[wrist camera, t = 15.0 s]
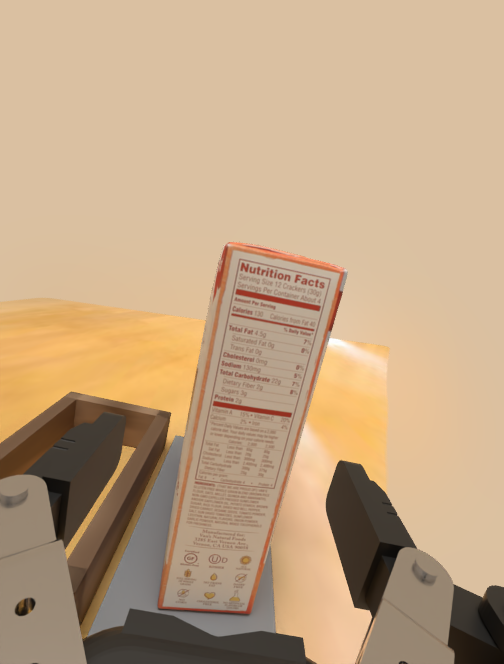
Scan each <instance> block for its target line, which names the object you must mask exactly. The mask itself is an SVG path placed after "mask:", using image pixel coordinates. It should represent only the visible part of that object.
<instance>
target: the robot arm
mask: <svg viewBox="0 0 504 664" xmlns="http://www.w3.org/2000/svg"><path fill="white" fill-rule="evenodd" d="M125 425H126V416H124V415H119V414H114V413H109V412H103V413H102V414H101V415H100V416H99V417H98V418H97V419H96V420H95V421H94V423H93V424H90V423H85V422H84V423H82V424H80V425H78V426H76V427H74V428H71V429H70V430H69V431H68V432H67V433H66V434H65V435H64V436H63V437H61V439H60V440H58V441H57V442H56V443H55V444H54V445H53V447H52V448H50V449H49V450H48V451H47V452H46V453H45V454H44V455H43V456H42V457H40V458H39V459H38V460H37V461H36V462H35V463H34V464H33V465H32V466H31V467H30V468H29V469H28V470H27V471H26V472H25V473H24V474H23V475H15V476H10V477H7V478H4V479H1V480H0V664H317V663H315V662H313V661H312V660H310V659H308V658H307V657H305V650H304V642H303V638H301V637H295V636H289V635H284V634H278V633H272V632H266V631H256V632H249V633H242V634H235V635H228V636H219V637H218V636H214V635H211V634H209V633H207V632H205V631H203V630H201V629H199V628H197V627H195V626H193V625H191V624H189V623H187V622H185V621H183V620H181V619H179V618H177V617H175V616H173V615H167V614H161V613H155V612H149V611H143V610H137V609H132V608H130V609H129V612H128V615H127V618H126V621H125V624H124V626H117V627H113V628H109V629H105V630H102V631H100V632H97V633H95V634H92V635H90V636H88V637H86V638H85V639H83V640H82V636H81V631H80V626H79V620H78V615H77V610H76V605H75V600H74V595H73V590H72V585H71V579H70V574H69V569H68V564H67V559H66V554H65V549H66V547H67V546H68V544H69V543H70V541H71V539H72V538H73V536H74V535H75V533H76V532H77V530H78V528H79V527H80V525H81V524H82V522H83V521H84V519H85V517H86V516H87V514H88V513H89V511H90V509H91V508H92V506H93V505H94V503H95V502H96V500H97V498H98V497H99V495H100V494H101V492H102V491H103V489H104V487H105V486H106V484H107V483H108V481H109V480H110V478H111V476H112V475H113V473H114V472H115V470H116V468H117V465H118V463H119V460H120V456H121V451H122V445H123V438H124V432H125ZM326 512H327V516H328V520H329V523H330V526H331V530H332V533H333V536H334V540H335V543H336V547H337V550H338V553H339V557H340V560H341V563H342V567H343V570H344V574H345V577H346V580H347V584H348V587H349V590H350V594H351V597H352V600H353V604H354V607H355V608H360V609H365V610H370V612H371V615H372V619H371V622H370V624H369V627H368V630H367V632H366V635H365V638H364V640H363V643H362V646H361V648H360V651H359V654H358V657H357V659H356V662H355V664H504V587H500V586H490V587H489V588H487V590H486V592H485V594H484V596H483V598H482V597H480V596H478V595H476V594H474V593H471V592H469V591H467V590H465V589H463V588H461V587H458V586H456V585H454V584H453V582H452V579H451V577H450V576H449V574H448V573H447V571H446V570H445V569H444V568H443V566H442V565H441V564H440V563H439V562H438V561H436V560H435V559H434V558H433V557H431V556H430V555H428V554H426V553H425V552H423V551H421V550H418V549H417V548H416V546H415V544H414V542H413V540H412V539H411V537H410V535H409V533H408V532H407V530H406V528H405V526H404V525H403V523H402V521H401V519H400V518H399V517H398V516H397V512H396V511H395V509H394V507H393V506H392V504H391V502H390V500H389V498H388V497H387V495H386V493H385V492H384V491H383V490H382V489H381V488H380V487H379V486H378V485H377V484H376V483H375V482H374V481H370V480H369V478H368V476H367V474H366V472H365V470H364V468H363V467H362V465H361V464H357V463H352V462H347V461H342V460H341V461H339V462H338V464H337V467H336V470H335V473H334V476H333V479H332V482H331V485H330V488H329V491H328V494H327V498H326Z"/></svg>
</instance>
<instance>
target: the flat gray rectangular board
mask: <svg viewBox="0 0 504 664" xmlns="http://www.w3.org/2000/svg"><path fill="white" fill-rule="evenodd" d="M183 441H184V437H181V436H175V438H174V440H173V443H172V445H171V447H170V449H169V452H168V454H167V456H166V458H165V461H164V463H163V465H162V468H161V470H160V472H159V474H158V477H157V479H156V481H155V483H154V486H153V488H152V490H151V493H150V495H149V497H148V499H147V502H146V504H145V506H144V508H143V511H142V513H141V515H140V518H139V520H138V522H137V524H136V527H135V529H134V531H133V533H132V536H131V538H130V540H129V543H128V545H127V547H126V549H125V552H124V554H123V556H122V558H121V561H120V563H119V565H118V568H117V570H116V572H115V574H114V577H113V579H112V581H111V583H110V586H109V588H108V590H107V593H106V595H105V597H104V599H103V602H102V604H101V606H100V608H99V611H98V613H97V615H96V618H95V620H94V622H93V624H92V627H91V629H90V631H89V634H88V636H90V635H92V634H95V633H97V632H100V631H102V630H105V629H109V628H113V627H117V626H124V624H125V621H126V618H127V615H128V612H129V609H130V608H132V609H137V610H143V611H149V612H155V613H161V614H167V615H173V616H175V617H177V618H179V619H181V620H183V621H185V622H187V623H189V624H191V625H193V626H195V627H197V628H199V629H201V630H203V631H205V632H207V633H209V634H211V635H214V636H218V637H219V636H228V635H235V634H242V633H249V632H256V631H266V632H272V633H276V629H275V612H274V595H273V578H272V561H271V544H270V547H269V551H268V554H267V558H266V561H265V565H264V568H263V571H262V575H261V578H260V582H259V586H258V589H257V593H256V596H255V600H254V603H253V607H252V611H251V613H250V614H244V613H228V612H211V611H194V610H177V609H161V608H158V599H159V592H160V585H161V577H162V571H163V564H164V557H165V550H166V543H167V536H168V530H169V523H170V517H171V511H172V505H173V499H174V493H175V487H176V481H177V476H178V470H179V464H180V458H181V452H182V447H183ZM88 636H87V637H88Z"/></svg>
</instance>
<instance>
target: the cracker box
mask: <svg viewBox="0 0 504 664" xmlns="http://www.w3.org/2000/svg"><path fill="white" fill-rule="evenodd" d="M347 273H348V272H347V270H346V269H345V268H342V267H339V266H336V265H333V264H330V263H325V262H321V261H317V260H313V259H309V258H306V257H304V256H300V255H296V254H292V253H288V252H284V251H280V250H276V249H272V248H267V247H263V246H259V245H253V244H245V243H233V242H229V243H227V244H225V245H223V248H222V252H221V256H220V260H219V263H218V267H217V271H216V276H215V280H214V284H213V288H212V292H211V297H210V303H209V308H208V313H207V318H206V323H205V328H204V334H203V339H202V344H201V349H200V355H199V360H198V365H197V371H196V376H195V381H194V386H193V392H192V397H191V403H190V408H189V414H188V419H187V425H186V430H185V436H184V441H183V447H182V452H181V458H180V464H179V470H178V476H177V481H176V487H175V493H174V499H173V505H172V511H171V517H170V523H169V530H168V536H167V543H166V550H165V557H164V564H163V571H162V577H161V585H160V592H159V599H158V608H161V609H177V610H194V611H211V612H228V613H244V614H250V613H251V611H252V607H253V603H254V600H255V596H256V593H257V589H258V586H259V582H260V578H261V575H262V571H263V568H264V565H265V561H266V558H267V554H268V551H269V547H270V544H271V540H272V536H273V533H274V529H275V526H276V522H277V519H278V515H279V512H280V508H281V505H282V501H283V498H284V494H285V491H286V487H287V484H288V480H289V477H290V473H291V470H292V466H293V463H294V459H295V456H296V452H297V449H298V446H299V442H300V438H301V435H302V431H303V428H304V424H305V421H306V417H307V414H308V410H309V407H310V403H311V400H312V396H313V393H314V389H315V386H316V382H317V379H318V376H319V372H320V369H321V365H322V362H323V358H324V355H325V352H326V348H327V345H328V341H329V338H330V334H331V330H332V327H333V324H334V320H335V317H336V313H337V309H338V306H339V303H340V300H341V296H342V293H343V288H344V285H345V281H346V278H347Z"/></svg>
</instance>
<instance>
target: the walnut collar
mask: <svg viewBox="0 0 504 664" xmlns="http://www.w3.org/2000/svg"><path fill="white" fill-rule="evenodd" d="M103 412H109V413H114V414H119V415H124V416H126V425H125V432H124V438H123V445H126V446H131V447H136V450H135V451H134V453H133V454H132V456H131V458H130V459H129V461H128V463H127V464H126V466H125V467H124V469H123V471H122V472H121V474H120V476H119V477H118V479H117V480H116V482H115V484H114V485H113V487H112V489H111V490H110V492H109V493H108V495H107V497H106V498H105V500H104V501H103V503H102V505H101V506H100V508H99V510H98V511H97V513H96V514H95V516H94V518H93V519H92V521H91V523H90V524H89V526H88V527H87V529H86V531H85V532H84V534H83V536H82V537H81V539H80V540H79V542H78V544H77V545H76V547H75V548H74V550H73V552H72V553H71V555H70V557H69V558H68V560H67V564H68V569H69V574H70V579H71V585H72V590H73V595H74V600H75V605H76V610H77V615H78V620H79V626H80V625H81V623H82V621H83V619H84V616H85V614H86V612H87V610H88V608H89V606H90V604H91V602H92V599H93V597H94V595H95V593H96V591H97V589H98V587H99V585H100V583H101V580H102V578H103V576H104V574H105V572H106V570H107V568H108V566H109V563H110V561H111V559H112V557H113V555H114V553H115V551H116V549H117V547H118V544H119V542H120V540H121V538H122V536H123V534H124V532H125V530H126V527H127V525H128V523H129V521H130V519H131V517H132V515H133V513H134V511H135V508H136V506H137V504H138V502H139V500H140V498H141V496H142V494H143V491H144V489H145V487H146V485H147V483H148V481H149V479H150V477H151V475H152V472H153V470H154V468H155V466H156V464H157V462H158V460H159V458H160V455H161V453H162V451H163V449H164V447H165V443H166V438H167V432H168V427H169V422H170V416H171V413H170V412H166V411H161V410H156V409H151V408H147V407H142V406H137V405H132V404H128V403H123V402H118V401H113V400H109V399H104V398H99V397H94V396H90V395H85V394H80V393H75V392H70V393H69V394H67V395H66V396H64V397H63V398H62V399H60V400H59V401H58V402H56V403H55V404H54V405H52V406H51V407H49V408H48V409H47V410H45V411H44V412H43V413H41V414H40V415H39V416H37V417H36V418H34V419H33V420H32V421H30V422H29V423H28V424H26V425H25V426H24V427H22V428H21V429H19V430H18V431H17V432H15V433H14V434H13V435H11V436H10V437H8V438H7V439H6V440H4V441H3V442H2V443H0V480H1V479H4V478H7V477H10V476H15V475H23V474H24V473H25V472H26V471H27V470H28V469H29V468H30V467H31V466H32V465H33V464H34V463H35V462H36V461H37V460H38V459H39V458H40V457H42V456H43V455H44V454H45V453H46V452H47V451H48V450H49V449H50V448H52V447H53V445H54V444H55V443H56V442H57V441H58V440H60V439H61V437H63V436H64V435H65V434H66V433H67V432H68V431H69V430H70V429H71V428H74V427H76V426H78V425H80V424H82V423H84V422H85V423H90V424H93V423H94V421H95V420H96V419H97V418H98V417H99V416H100V415H101V414H102V413H103Z"/></svg>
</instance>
